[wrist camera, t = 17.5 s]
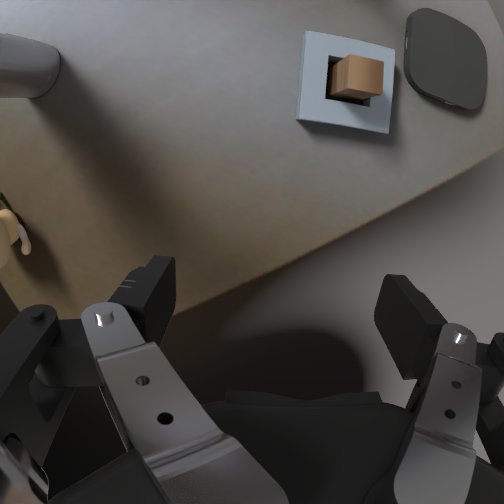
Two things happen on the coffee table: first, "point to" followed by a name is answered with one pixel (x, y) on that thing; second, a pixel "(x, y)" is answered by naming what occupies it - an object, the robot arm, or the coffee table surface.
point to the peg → (356, 78)
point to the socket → (315, 76)
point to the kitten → (11, 235)
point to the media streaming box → (445, 59)
